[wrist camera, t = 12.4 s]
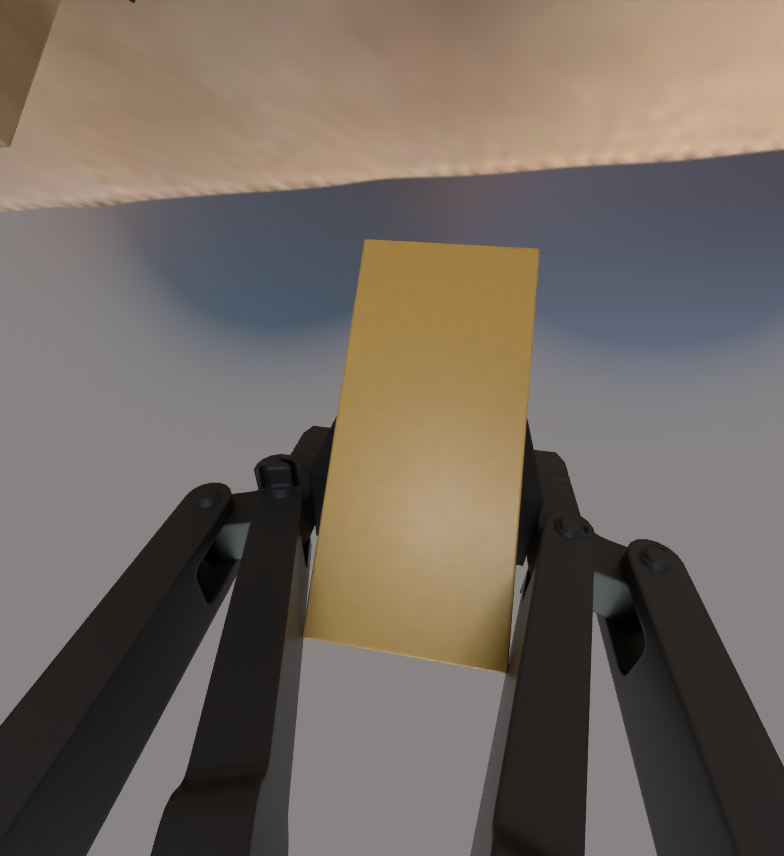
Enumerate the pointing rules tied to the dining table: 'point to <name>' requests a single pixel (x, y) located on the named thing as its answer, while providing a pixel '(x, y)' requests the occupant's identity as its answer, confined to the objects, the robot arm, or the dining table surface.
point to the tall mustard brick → (428, 455)
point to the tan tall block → (20, 55)
